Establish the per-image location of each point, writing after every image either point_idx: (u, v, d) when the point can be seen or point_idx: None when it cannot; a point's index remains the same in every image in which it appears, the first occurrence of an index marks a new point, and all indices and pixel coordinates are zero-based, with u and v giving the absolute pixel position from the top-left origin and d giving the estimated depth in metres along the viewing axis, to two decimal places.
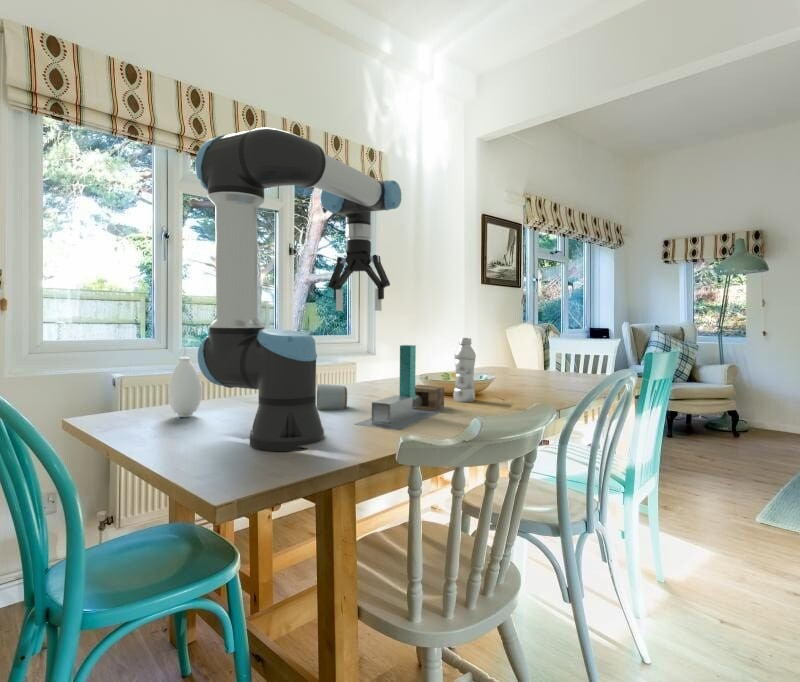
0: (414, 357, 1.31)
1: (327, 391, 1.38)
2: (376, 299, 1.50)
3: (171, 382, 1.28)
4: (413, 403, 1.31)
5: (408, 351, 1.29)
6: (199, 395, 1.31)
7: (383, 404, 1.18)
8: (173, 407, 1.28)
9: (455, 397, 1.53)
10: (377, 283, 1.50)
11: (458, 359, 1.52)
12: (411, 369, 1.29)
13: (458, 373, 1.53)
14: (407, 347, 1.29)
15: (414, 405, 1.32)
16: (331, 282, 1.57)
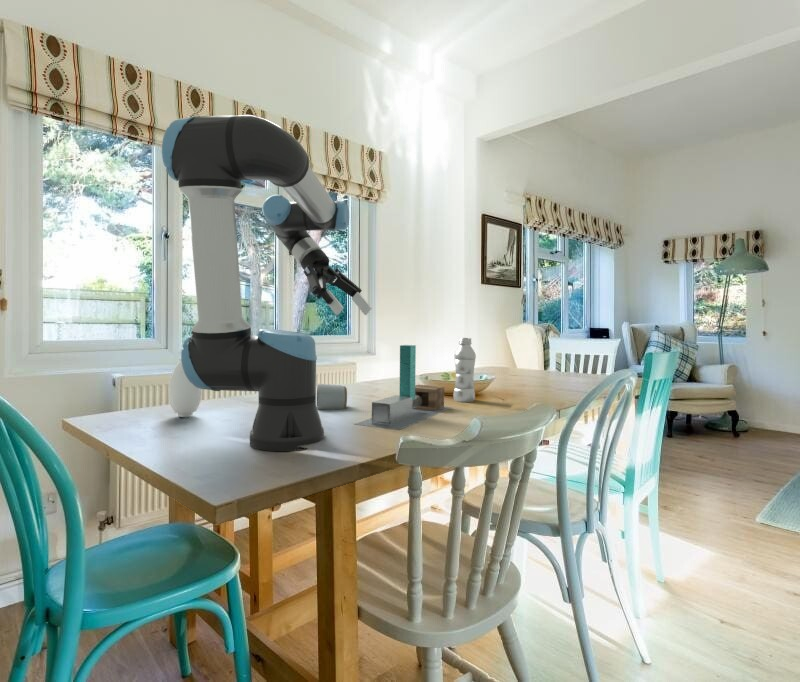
0: (414, 357, 1.31)
1: (327, 391, 1.38)
2: (364, 300, 1.44)
3: (171, 382, 1.28)
4: (413, 403, 1.31)
5: (408, 351, 1.29)
6: (199, 395, 1.31)
7: (383, 404, 1.18)
8: (173, 407, 1.28)
9: (455, 397, 1.53)
10: (355, 288, 1.46)
11: (458, 359, 1.52)
12: (411, 369, 1.29)
13: (458, 373, 1.53)
14: (407, 347, 1.29)
15: (414, 405, 1.32)
16: (318, 284, 1.32)
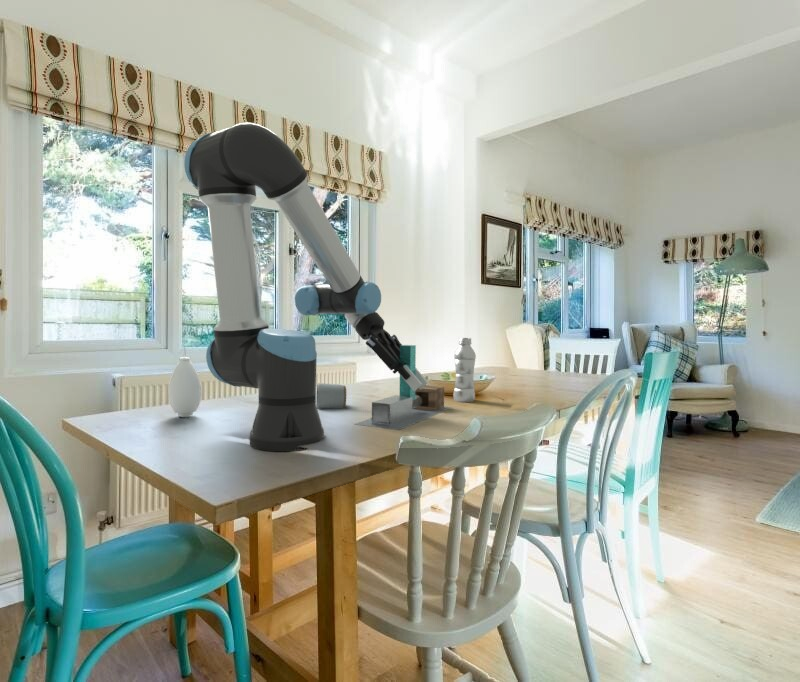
0: (414, 357, 1.31)
1: (326, 390, 1.39)
2: (419, 373, 1.31)
3: (171, 382, 1.28)
4: (413, 403, 1.31)
5: (408, 351, 1.29)
6: (199, 395, 1.31)
7: (383, 404, 1.18)
8: (173, 407, 1.28)
9: (455, 397, 1.53)
10: None
11: (458, 359, 1.52)
12: (411, 369, 1.29)
13: (458, 373, 1.53)
14: (407, 347, 1.29)
15: (414, 405, 1.32)
16: (394, 358, 1.27)
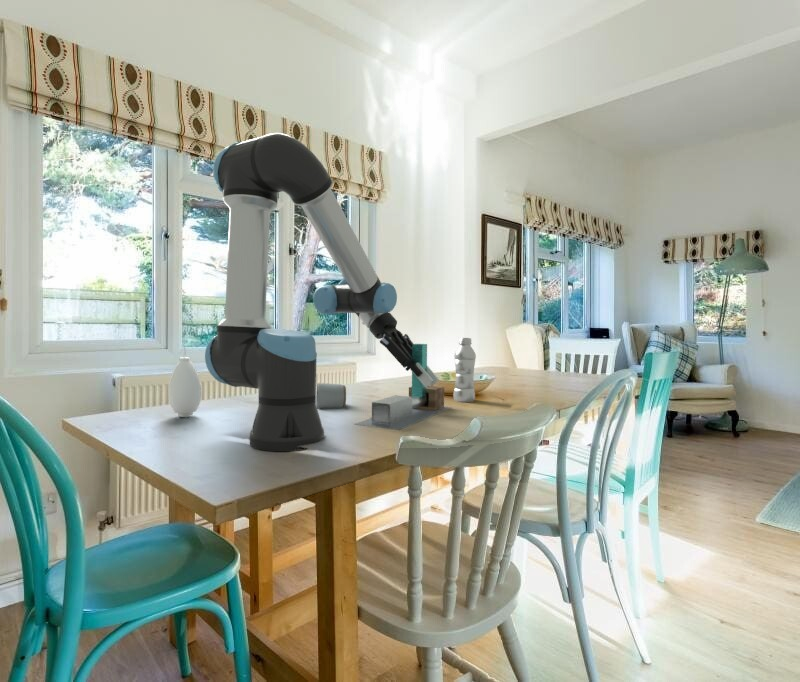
0: (426, 355, 1.37)
1: (326, 390, 1.40)
2: (430, 370, 1.38)
3: (171, 382, 1.28)
4: (425, 399, 1.38)
5: (420, 350, 1.35)
6: (199, 395, 1.31)
7: (383, 404, 1.18)
8: (173, 407, 1.28)
9: (455, 397, 1.53)
10: None
11: (458, 359, 1.52)
12: (423, 366, 1.36)
13: (458, 373, 1.53)
14: (419, 346, 1.35)
15: (425, 401, 1.38)
16: (407, 356, 1.34)
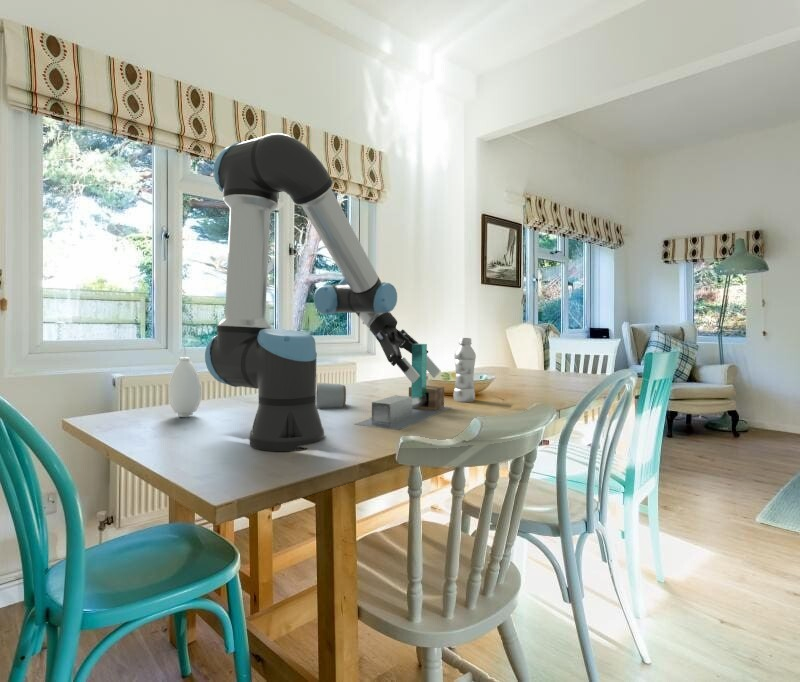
0: (425, 355, 1.37)
1: (326, 390, 1.40)
2: (432, 362, 1.43)
3: (171, 382, 1.28)
4: (424, 399, 1.37)
5: (419, 350, 1.35)
6: (199, 395, 1.31)
7: (383, 404, 1.18)
8: (173, 407, 1.28)
9: (455, 397, 1.53)
10: None
11: (458, 359, 1.52)
12: (422, 367, 1.36)
13: (458, 373, 1.53)
14: (419, 346, 1.35)
15: (425, 401, 1.38)
16: (394, 351, 1.31)
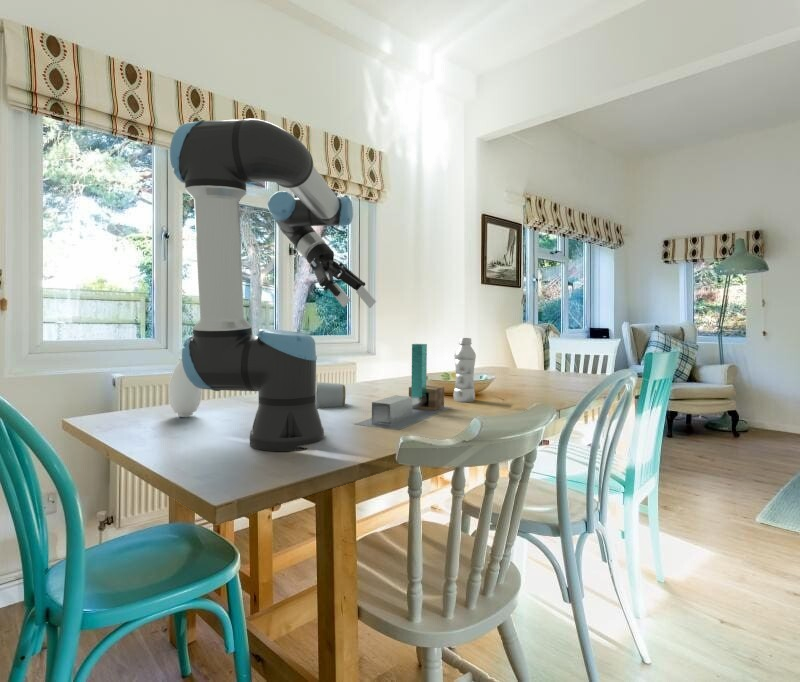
0: (425, 355, 1.37)
1: (326, 389, 1.41)
2: (368, 293, 1.48)
3: (171, 382, 1.28)
4: (424, 399, 1.37)
5: (419, 350, 1.35)
6: (199, 395, 1.31)
7: (383, 404, 1.18)
8: (173, 407, 1.28)
9: (455, 397, 1.53)
10: (359, 282, 1.49)
11: (458, 359, 1.52)
12: (422, 367, 1.36)
13: (458, 373, 1.53)
14: (419, 346, 1.35)
15: (425, 401, 1.38)
16: (326, 276, 1.35)
